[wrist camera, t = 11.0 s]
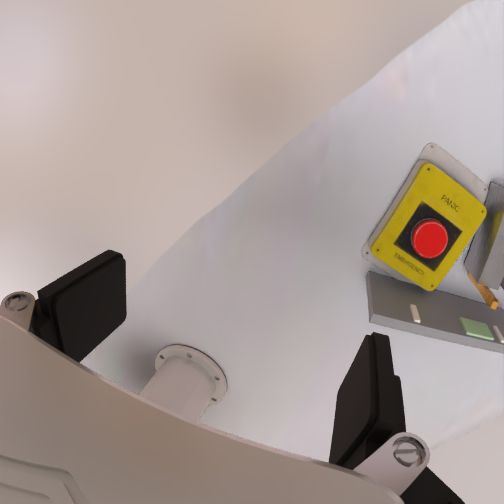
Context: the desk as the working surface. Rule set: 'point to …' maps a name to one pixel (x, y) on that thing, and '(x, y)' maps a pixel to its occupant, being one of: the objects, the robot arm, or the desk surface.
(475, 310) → the frame
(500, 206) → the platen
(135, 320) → the desk surface
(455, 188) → the emergency button
